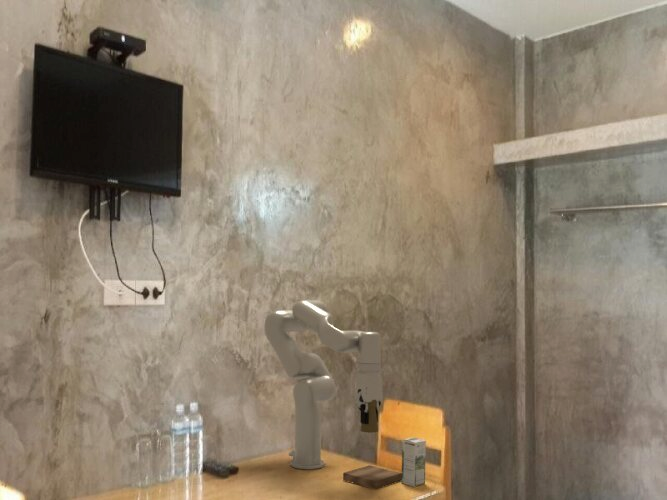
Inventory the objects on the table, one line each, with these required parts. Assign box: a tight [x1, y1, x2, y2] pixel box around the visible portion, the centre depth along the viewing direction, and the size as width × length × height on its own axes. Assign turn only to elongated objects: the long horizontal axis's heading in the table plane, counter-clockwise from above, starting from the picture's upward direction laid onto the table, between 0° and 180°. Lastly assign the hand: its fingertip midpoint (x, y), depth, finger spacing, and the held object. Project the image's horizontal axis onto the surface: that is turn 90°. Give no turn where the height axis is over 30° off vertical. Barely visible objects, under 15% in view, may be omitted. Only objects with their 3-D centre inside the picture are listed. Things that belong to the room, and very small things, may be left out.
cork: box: [360, 400, 379, 434], centre depth 214 cm, size 6×6×11 cm
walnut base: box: [342, 464, 402, 490], centre depth 212 cm, size 14×14×2 cm
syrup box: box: [400, 437, 427, 487], centre depth 210 cm, size 6×6×14 cm
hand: (369, 422), depth 213 cm, fingers closed on cork, 4 cm apart
